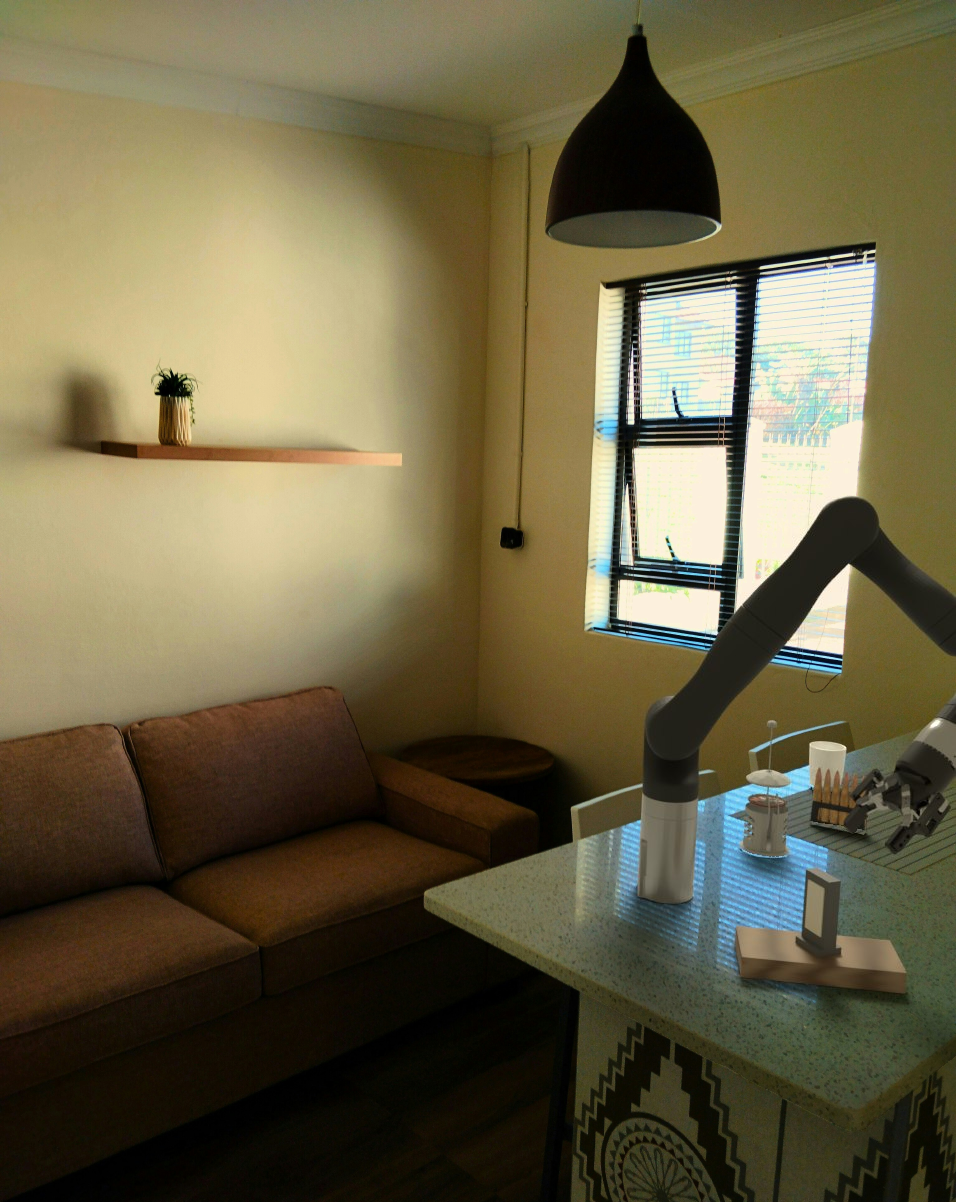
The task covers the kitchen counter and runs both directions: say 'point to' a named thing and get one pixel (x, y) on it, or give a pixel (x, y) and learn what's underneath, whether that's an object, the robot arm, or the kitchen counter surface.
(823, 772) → the white cup
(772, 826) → the french press
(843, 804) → the ammunition clip
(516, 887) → the kitchen counter surface
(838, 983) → the wooden block
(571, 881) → the kitchen counter surface
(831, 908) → the picture frame
